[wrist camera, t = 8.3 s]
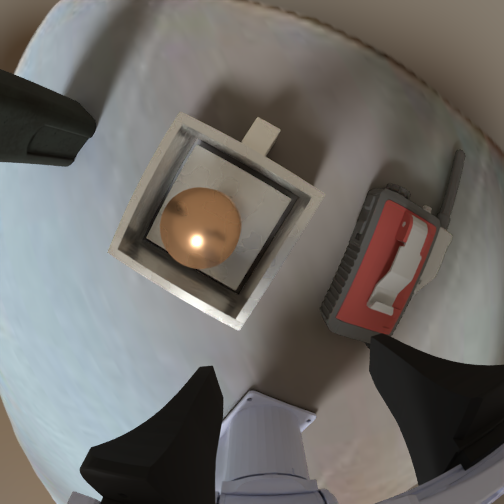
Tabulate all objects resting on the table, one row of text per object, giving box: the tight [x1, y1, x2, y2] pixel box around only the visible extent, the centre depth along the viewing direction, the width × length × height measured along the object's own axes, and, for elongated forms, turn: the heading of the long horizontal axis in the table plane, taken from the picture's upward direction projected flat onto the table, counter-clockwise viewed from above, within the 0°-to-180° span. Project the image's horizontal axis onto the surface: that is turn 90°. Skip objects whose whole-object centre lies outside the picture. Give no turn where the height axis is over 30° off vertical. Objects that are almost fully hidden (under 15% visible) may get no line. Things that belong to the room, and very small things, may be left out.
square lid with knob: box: [146, 145, 291, 291], centre depth 16 cm, size 8×8×7 cm
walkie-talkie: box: [320, 150, 465, 349], centre depth 19 cm, size 9×4×20 cm
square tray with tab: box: [107, 112, 325, 331], centre depth 18 cm, size 12×10×4 cm
